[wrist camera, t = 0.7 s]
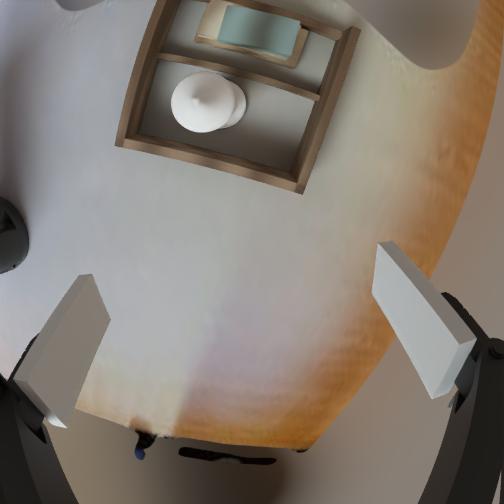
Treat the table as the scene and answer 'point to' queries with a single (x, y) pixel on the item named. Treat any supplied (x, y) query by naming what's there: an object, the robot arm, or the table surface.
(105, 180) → the table surface
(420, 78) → the table surface
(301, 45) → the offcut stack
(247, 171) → the rack
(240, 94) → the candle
